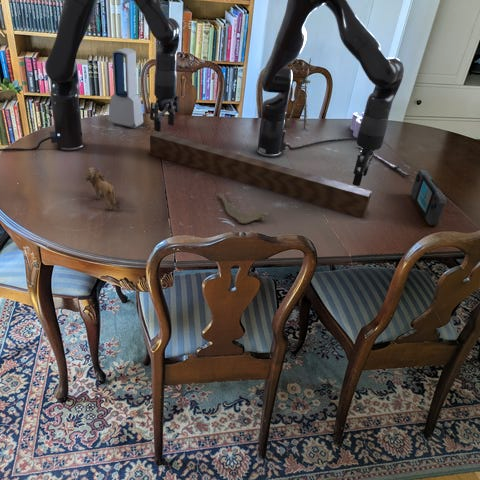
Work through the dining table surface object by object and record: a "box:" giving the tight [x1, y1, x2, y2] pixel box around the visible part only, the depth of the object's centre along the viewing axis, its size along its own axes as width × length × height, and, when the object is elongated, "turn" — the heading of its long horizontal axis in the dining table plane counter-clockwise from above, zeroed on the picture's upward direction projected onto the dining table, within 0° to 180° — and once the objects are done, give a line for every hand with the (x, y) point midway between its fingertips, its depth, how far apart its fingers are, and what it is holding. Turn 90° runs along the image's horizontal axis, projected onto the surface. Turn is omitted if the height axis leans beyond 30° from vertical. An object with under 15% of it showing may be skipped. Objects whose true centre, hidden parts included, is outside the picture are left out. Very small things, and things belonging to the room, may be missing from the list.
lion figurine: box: [82, 167, 121, 211], centre depth 139 cm, size 15×5×9 cm, turn 50°
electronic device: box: [108, 47, 144, 129], centre depth 190 cm, size 12×8×30 cm, turn 71°
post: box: [149, 131, 373, 219], centre depth 161 cm, size 81×5×8 cm, turn 64°
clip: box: [349, 112, 364, 138], centre depth 214 cm, size 20×12×7 cm, turn 11°
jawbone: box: [218, 193, 271, 225], centre depth 143 cm, size 9×20×2 cm, turn 50°
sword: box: [357, 146, 410, 177], centre depth 189 cm, size 31×3×1 cm, turn 26°
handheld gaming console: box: [410, 169, 447, 227], centre depth 153 cm, size 23×3×10 cm, turn 178°
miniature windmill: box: [286, 57, 312, 130], centre depth 210 cm, size 9×8×30 cm
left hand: (164, 128), depth 168 cm, fingers open, 8 cm apart
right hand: (359, 180), depth 145 cm, fingers open, 8 cm apart
